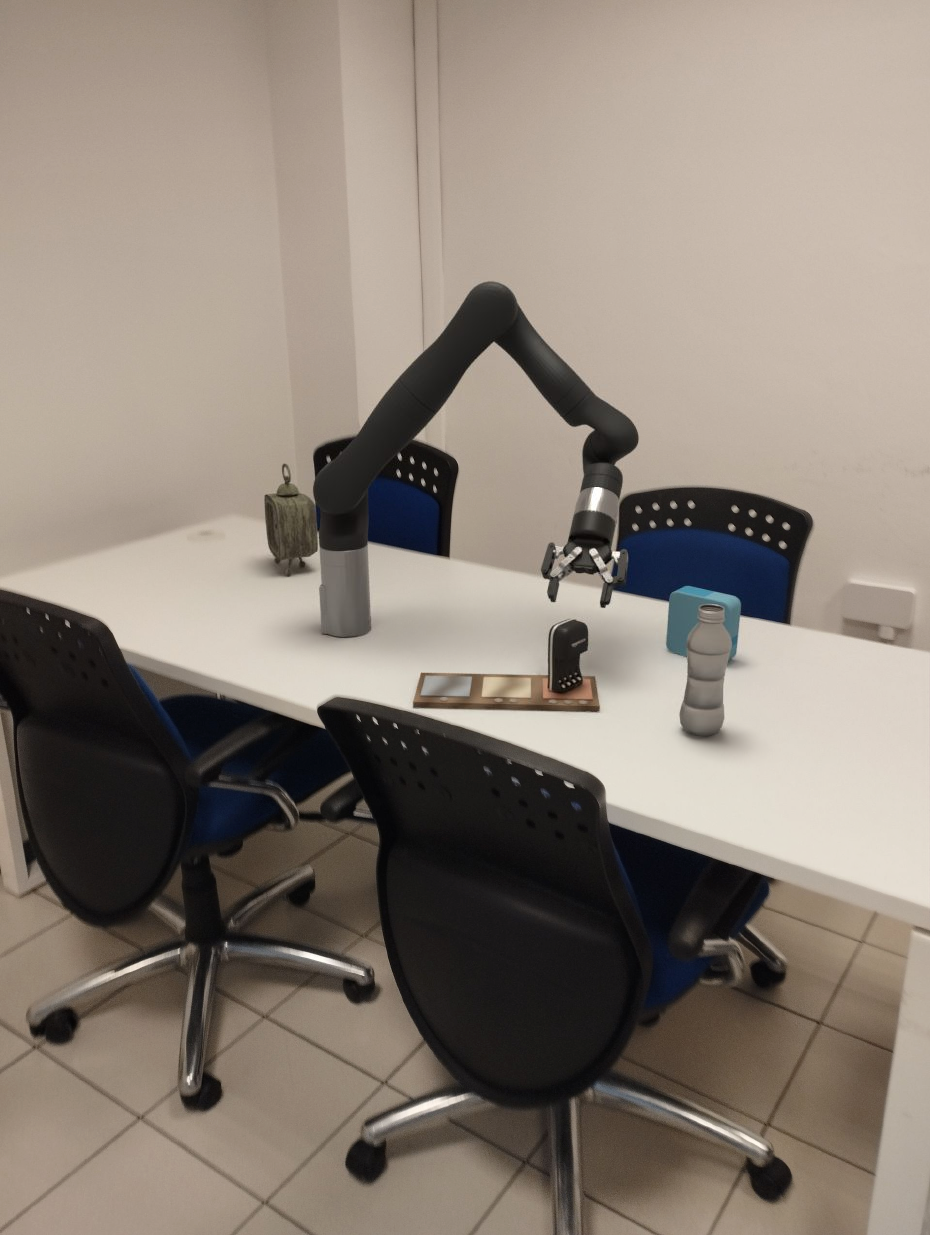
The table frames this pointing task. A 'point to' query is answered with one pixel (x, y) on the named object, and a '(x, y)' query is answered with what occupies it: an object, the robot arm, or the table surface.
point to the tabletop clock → (290, 523)
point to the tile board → (502, 693)
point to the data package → (685, 616)
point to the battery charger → (566, 654)
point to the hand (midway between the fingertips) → (577, 603)
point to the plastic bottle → (706, 672)
